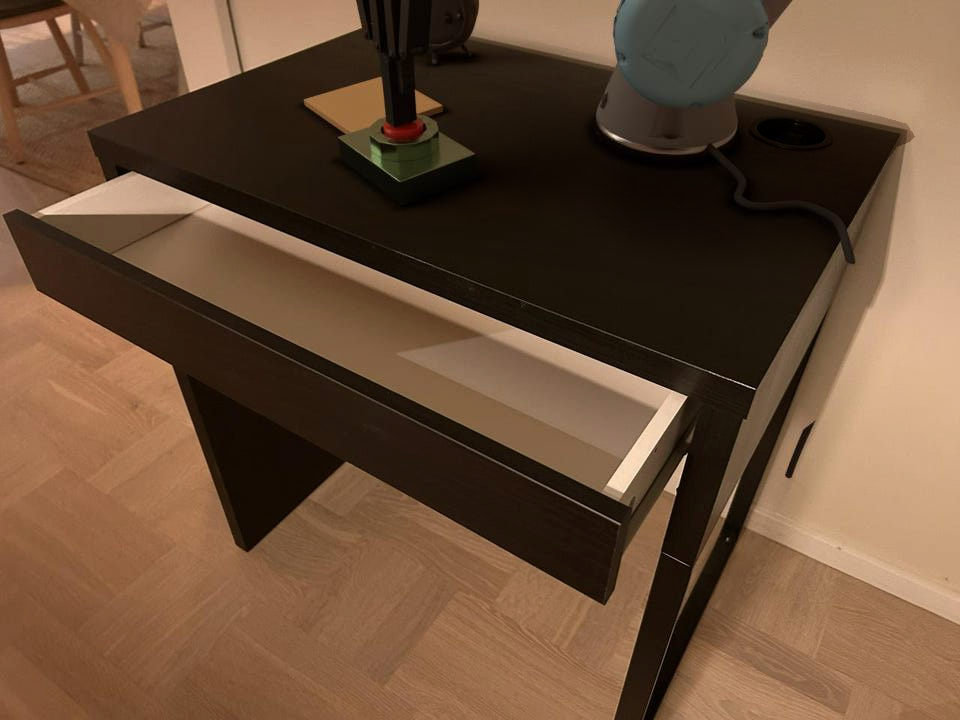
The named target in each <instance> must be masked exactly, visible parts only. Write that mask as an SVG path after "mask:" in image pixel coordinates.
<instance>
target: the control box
mask: <svg viewBox="0 0 960 720" xmlns="http://www.w3.org/2000/svg"><path fill="white" fill-rule="evenodd" d="M417 117H419V118H420V119H421V120H422V121H423V128H424V133H422V134H421V135H419V136H416V137H413V138H407V139H395V138H389V137H387V136H385V135H384V128H383V124H384V122H385V121H386V117H384V118H380V119H378V120H377V121H376V122H374V123H373V124H372V125H371V126H370V127H367V128H364V129H361V130H358V131H355V132H352V133H349V134H343V135H340V136H338V137H337V141H338V148H339V155H340V160H341V162H343V164H346V166H348V167H349V168H351V169H352V170H353V171H354V172H356V173H357V174H359V175H360V176H362V177H363V178H364V179H365V180H366V181H368V182H369V183H370V184H372V185H373V186H374V187H376V188H377V189H379V190H380V191H381V192H383V193H384V194H385V195H387V196H388V197H389V198H391V199H392V200H393V201H395V202H396V203H397V204H399V205H400V206H401V207H404V206H407V205H409V204H412V203H414V202H417V201H419V200H423V199H424V198H428V197H430V196H432V195H434V194H438V193H440V192H442V191H445V190H448V189H450V188H453V187H455V186H458V185H461V184H463V183H466V182H468V181H471V180H474V179H476V177H477V173H476V169H477V167H476V166H477V165H476V153H475V152H473V151H472V150H471V149H468V148H467V147H465V146H464V145H462V144H460V143H459V142H457V141H455V140H454V139H452V138H450V137H449V136H447V135H446V134H444V133H442V132H441V131H439V126H438V121H436V120H435V119H432V118H431V117H430V116H428V117H427V116H423V115H418V114H417Z"/></svg>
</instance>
